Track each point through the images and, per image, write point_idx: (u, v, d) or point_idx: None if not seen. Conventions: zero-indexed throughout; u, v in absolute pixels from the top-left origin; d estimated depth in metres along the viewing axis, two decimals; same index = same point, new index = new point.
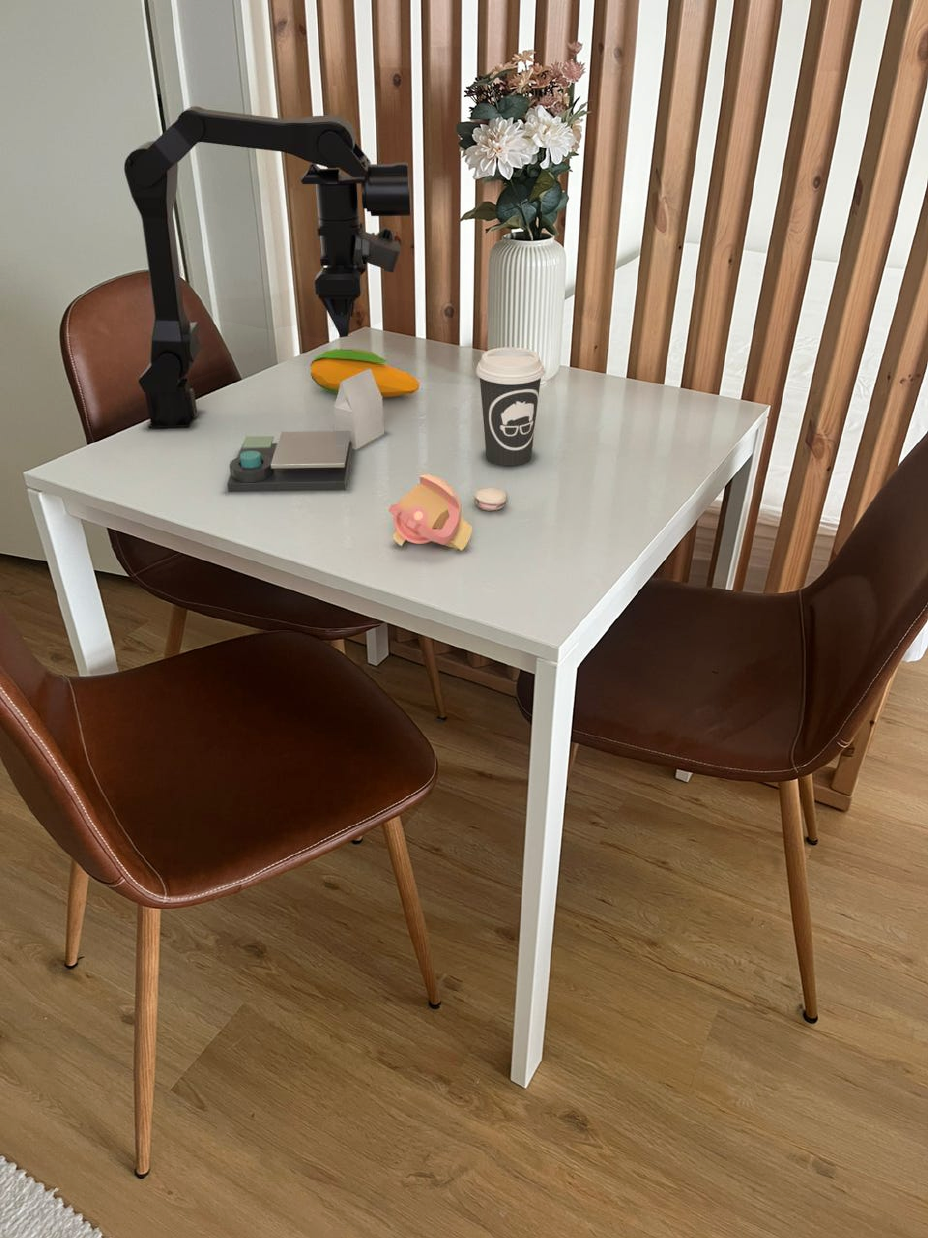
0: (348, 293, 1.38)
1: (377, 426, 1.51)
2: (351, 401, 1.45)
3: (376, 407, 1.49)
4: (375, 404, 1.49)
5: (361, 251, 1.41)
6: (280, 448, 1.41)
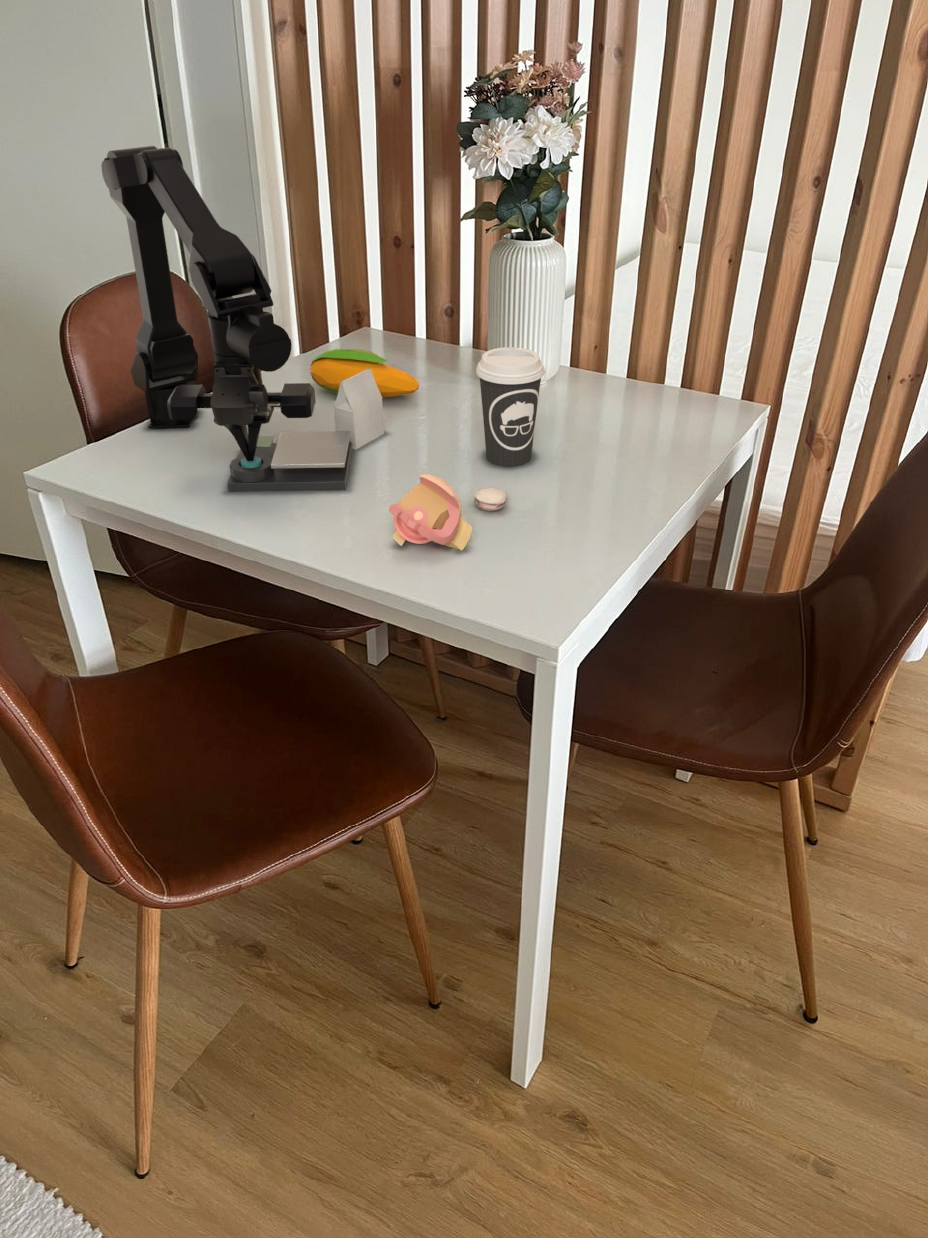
0: None
1: (377, 426, 1.51)
2: (351, 401, 1.45)
3: (376, 407, 1.49)
4: (374, 404, 1.49)
5: None
6: (280, 448, 1.41)
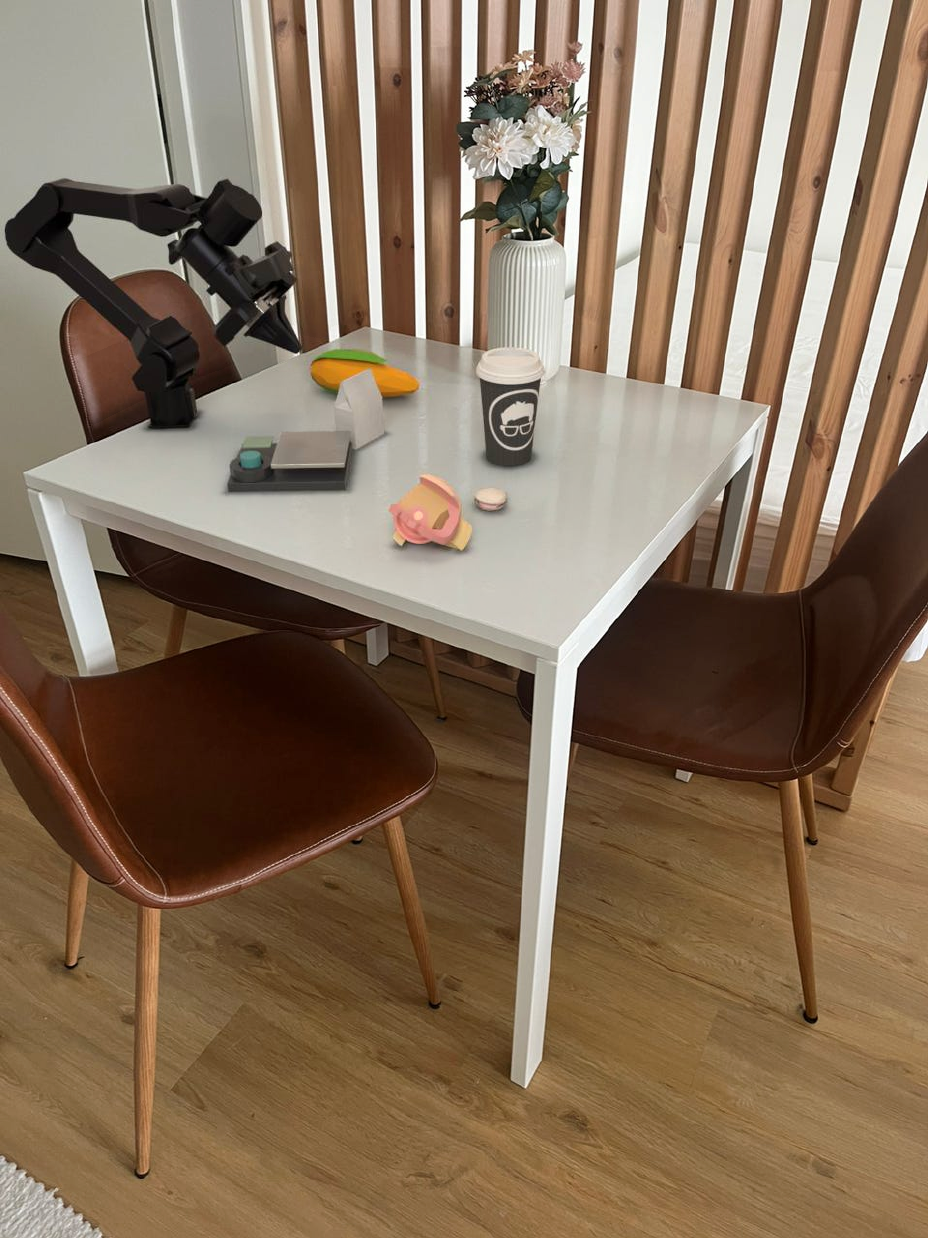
0: (241, 326, 1.35)
1: (377, 426, 1.51)
2: (351, 401, 1.45)
3: (376, 407, 1.49)
4: (375, 404, 1.49)
5: (247, 280, 1.38)
6: (280, 448, 1.41)
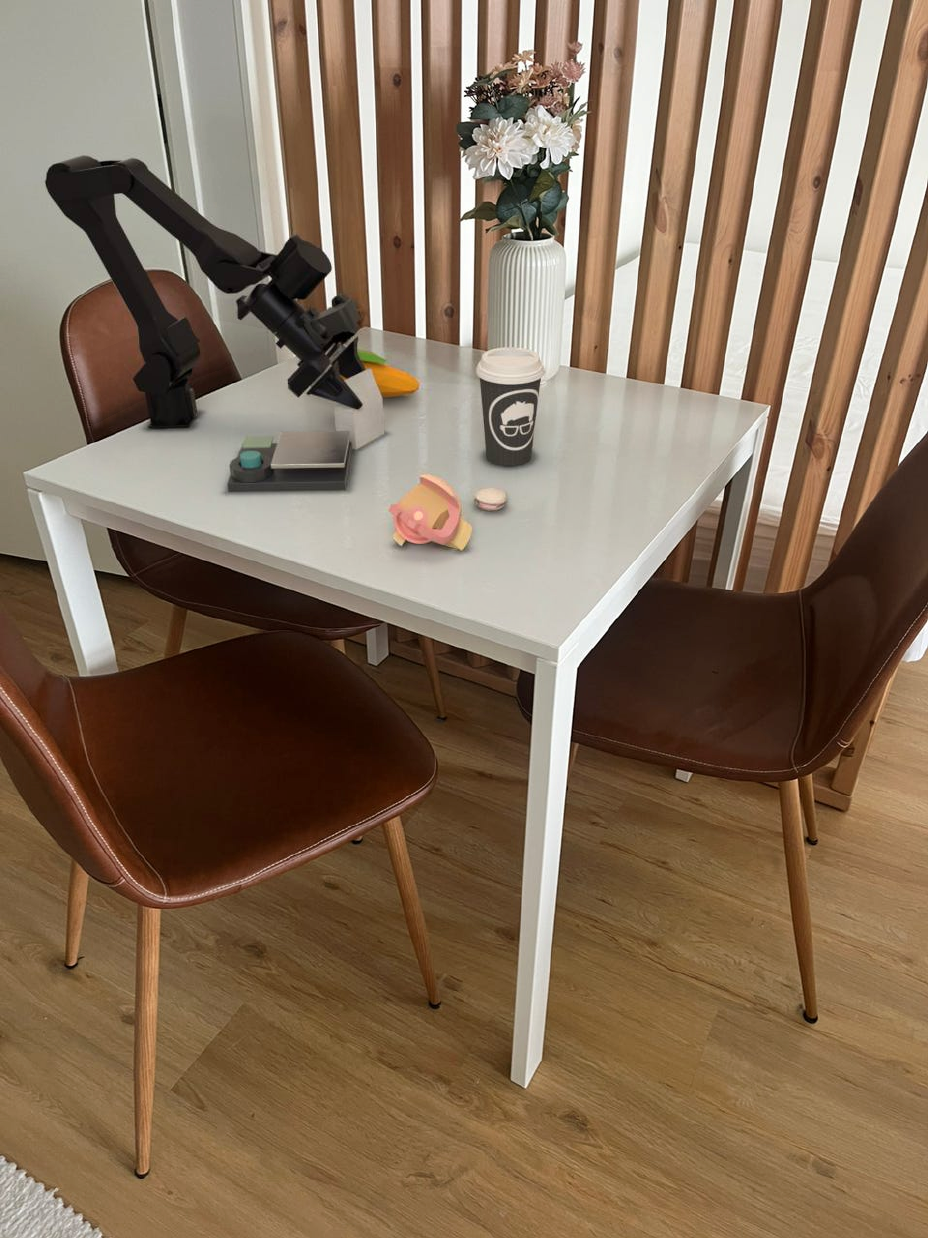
0: (315, 377, 1.37)
1: (377, 426, 1.51)
2: None
3: (376, 407, 1.49)
4: (375, 404, 1.49)
5: (317, 332, 1.41)
6: (280, 448, 1.41)
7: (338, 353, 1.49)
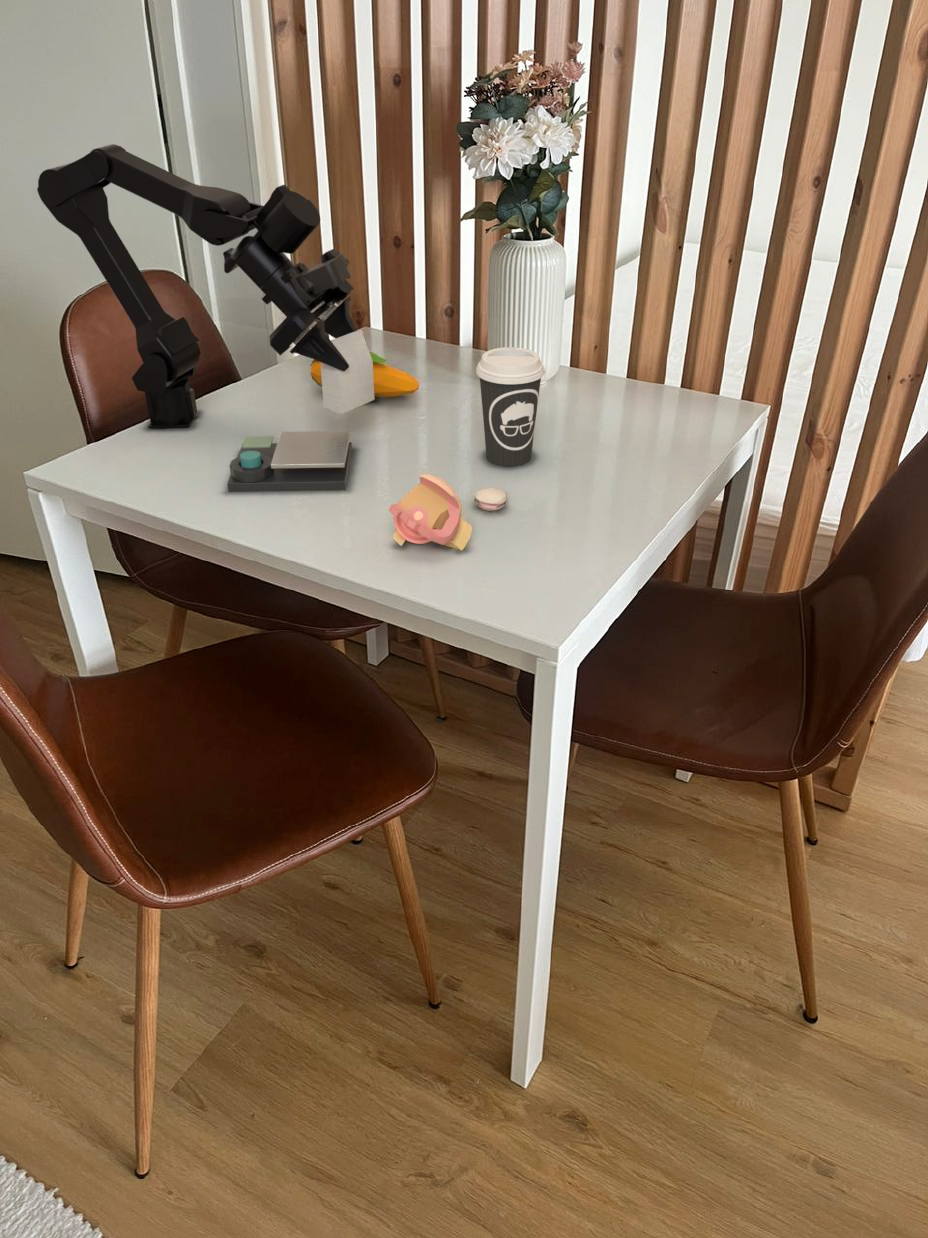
0: (297, 334, 1.32)
1: (366, 390, 1.45)
2: None
3: (365, 371, 1.44)
4: (364, 367, 1.43)
5: (303, 288, 1.35)
6: (280, 448, 1.41)
7: (329, 313, 1.44)
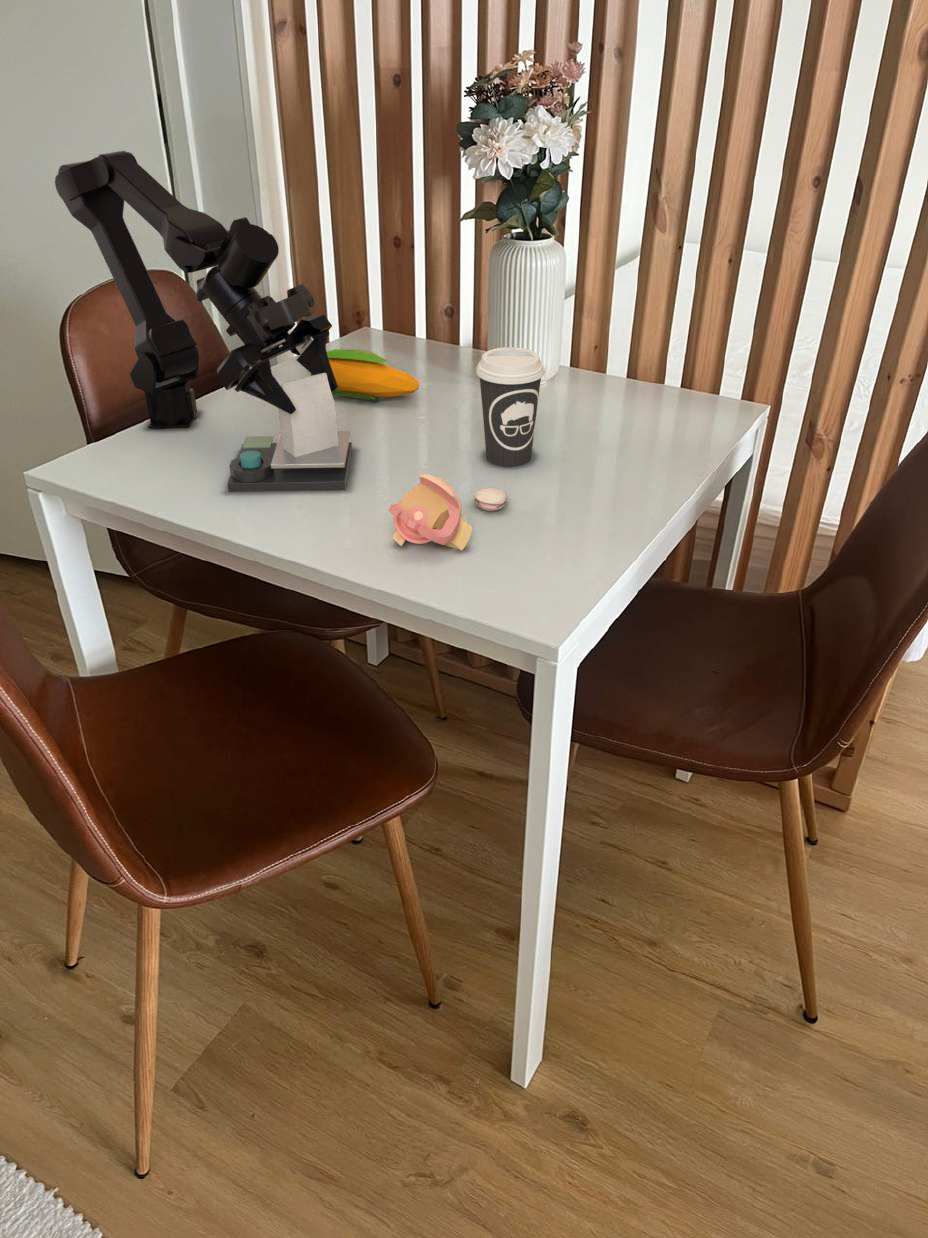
0: (238, 370, 1.28)
1: (328, 435, 1.40)
2: None
3: (326, 415, 1.38)
4: (324, 412, 1.37)
5: (260, 323, 1.31)
6: (280, 448, 1.41)
7: (305, 346, 1.40)
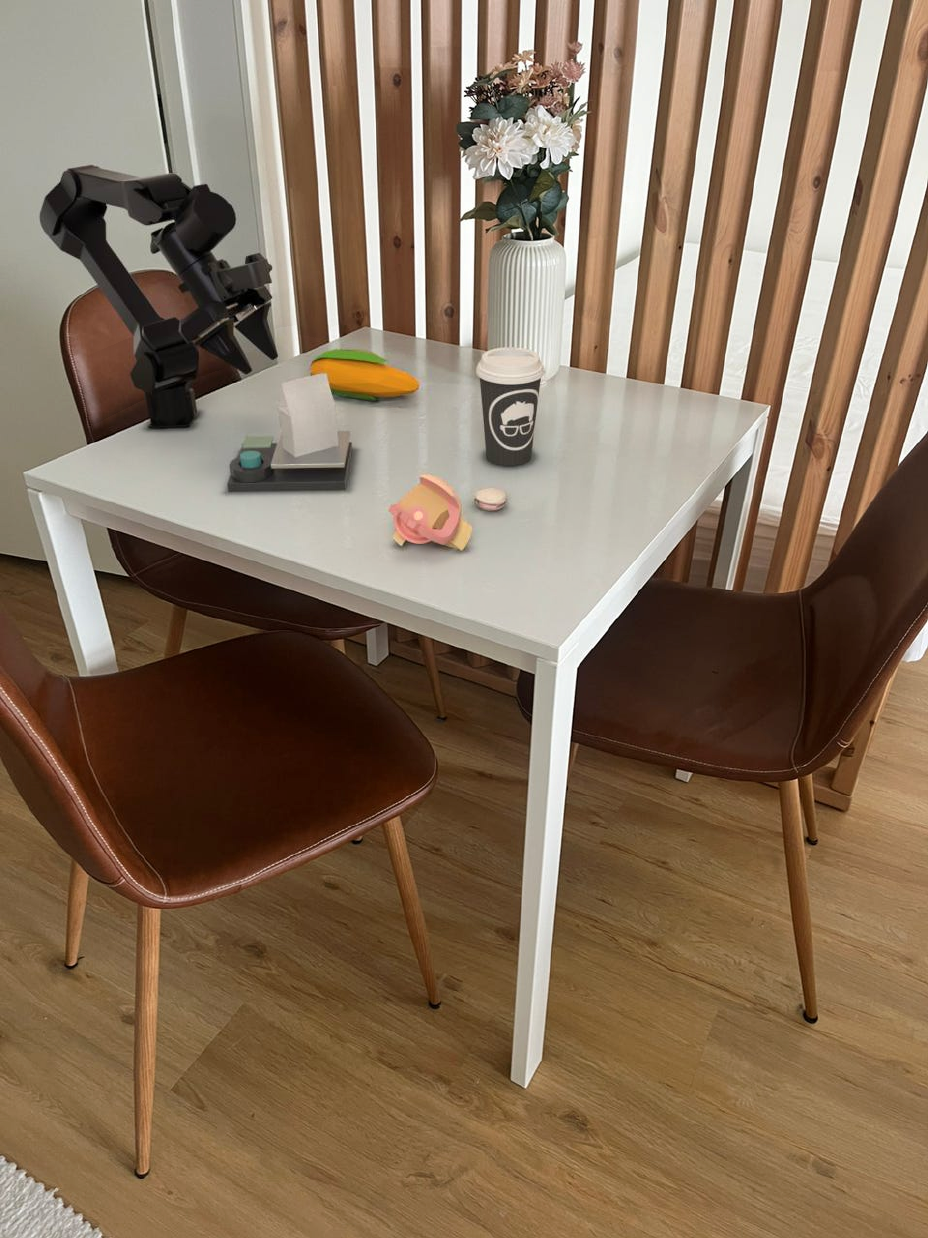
0: (208, 324, 1.31)
1: (328, 435, 1.40)
2: (291, 404, 1.35)
3: (326, 415, 1.38)
4: (324, 412, 1.37)
5: (222, 283, 1.35)
6: (280, 448, 1.41)
7: (247, 314, 1.44)
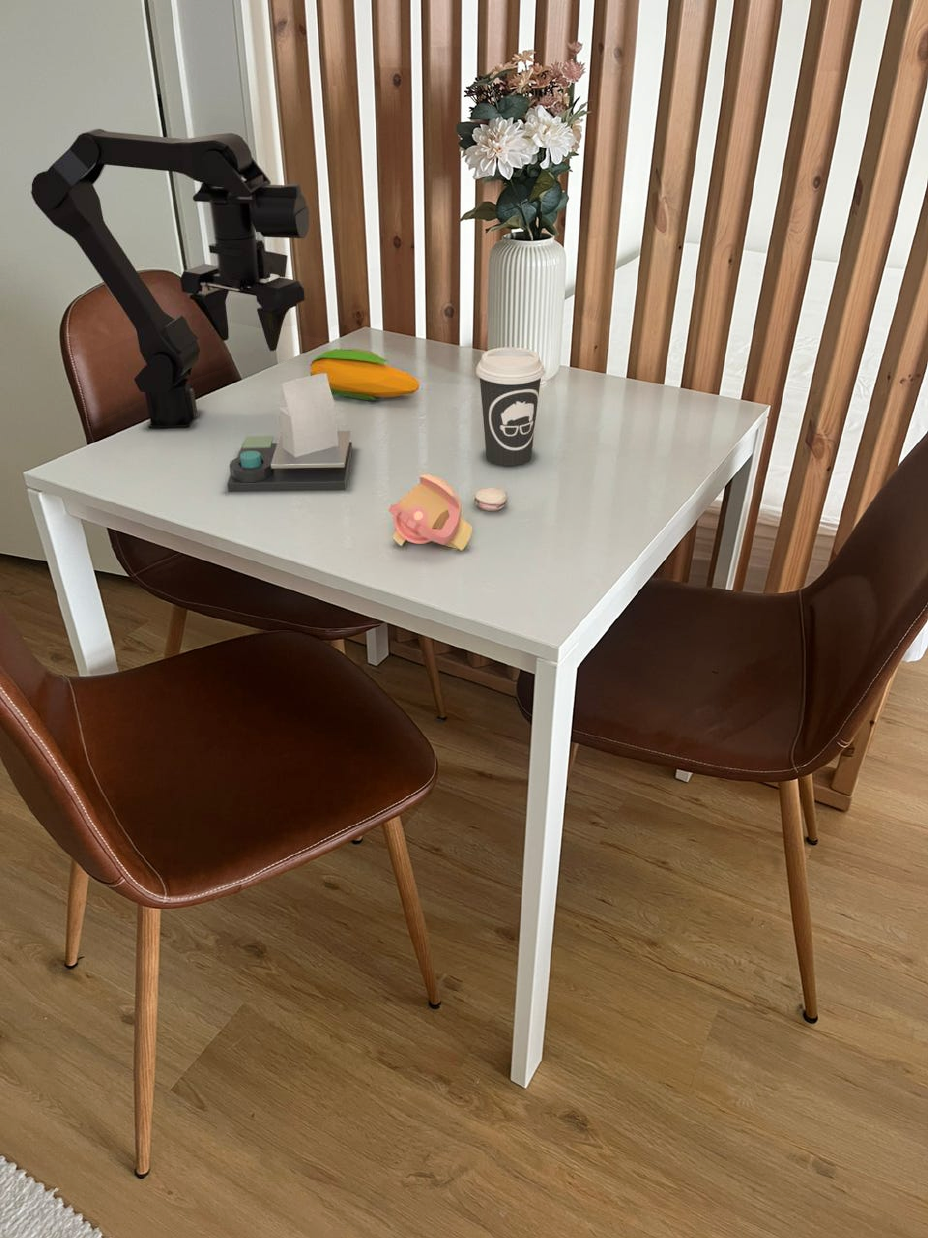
0: (300, 300, 1.41)
1: (328, 435, 1.40)
2: (291, 404, 1.35)
3: (326, 415, 1.38)
4: (324, 412, 1.37)
5: (267, 263, 1.43)
6: (280, 448, 1.41)
7: (212, 290, 1.46)
